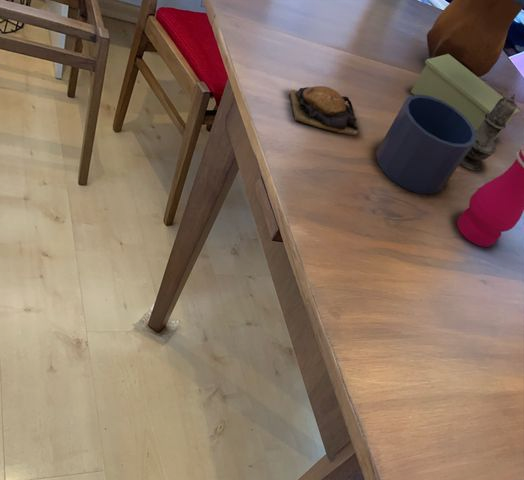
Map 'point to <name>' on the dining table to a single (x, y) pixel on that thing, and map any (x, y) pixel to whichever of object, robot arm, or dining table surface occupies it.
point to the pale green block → (457, 89)
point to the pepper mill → (495, 206)
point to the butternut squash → (473, 32)
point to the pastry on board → (324, 109)
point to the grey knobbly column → (489, 133)
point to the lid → (519, 2)
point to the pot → (425, 144)
